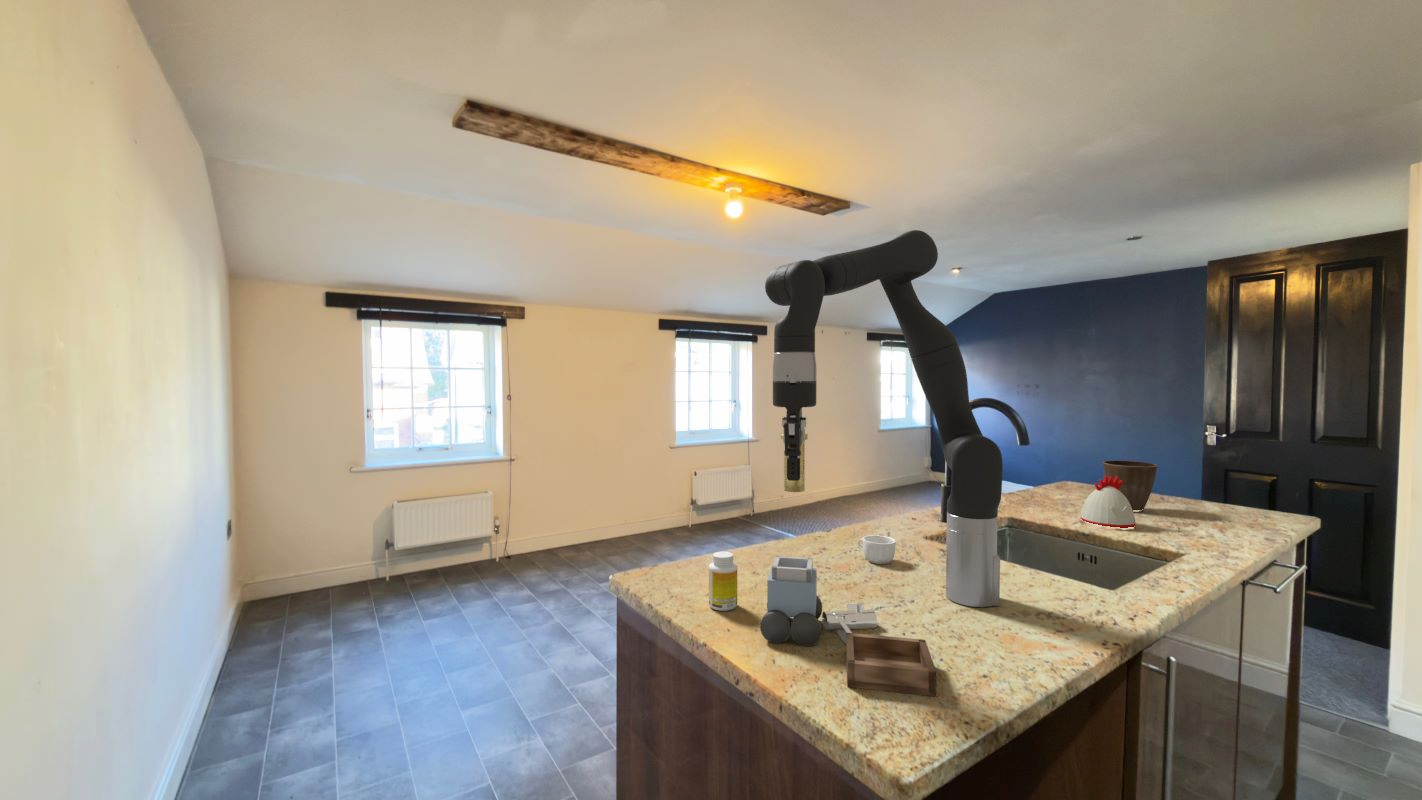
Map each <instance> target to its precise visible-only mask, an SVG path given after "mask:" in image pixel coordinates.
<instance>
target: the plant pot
mask: <svg viewBox="0 0 1422 800" xmlns="http://www.w3.org/2000/svg"><path fill="white" fill-rule="evenodd" d="M1102 467H1103V473H1104V476H1107V478H1108V481H1109V476H1112V478H1113V482H1114V479H1115V477H1116V476H1117V477H1118V483H1119V482H1120V480H1122V481H1123V483H1122V485H1121V487H1120V489H1119V491H1120V492H1121V493H1122V494H1123V495H1124V496H1125V497H1126V498H1127V500H1128V501H1129V503H1130V505H1131V508H1132V510H1142V509H1145V507H1146V505H1147V503H1148V501H1149V498H1150V496H1151V493H1152V490H1153V487H1154V483H1155V479H1156V477H1157V476H1156V475H1157V470H1158V465H1157V464H1156V463H1151V462H1145V461H1134V460H1105V461H1102Z"/></svg>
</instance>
